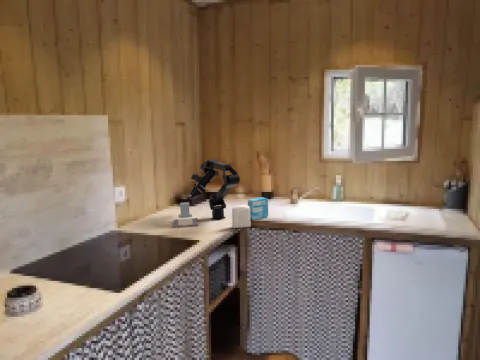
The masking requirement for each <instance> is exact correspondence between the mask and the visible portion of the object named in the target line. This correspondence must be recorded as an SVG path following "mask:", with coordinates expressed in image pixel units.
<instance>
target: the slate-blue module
mask: <svg viewBox="0 0 480 360" xmlns="http://www.w3.org/2000/svg"><path fill="white" fill-rule="evenodd" d="M179 204H180V205H179V208H180V214H181V218H187V217H190V213H191V212H190V202H189V201H187V202H186V201H185V202H180V203H179Z"/></svg>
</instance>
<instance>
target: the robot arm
mask: <svg viewBox="0 0 480 360" xmlns="http://www.w3.org/2000/svg"><path fill="white" fill-rule="evenodd" d="M199 169H200V170H201V172H202V173H203V174H202V175H199V174H197V173H193V172H192V173H191V176H190V179H191V180H194V182H193V185H194V186H193V188H192V189H191V191H190V193H189V195H190V198H191V199H193V198H195V197H197V196H200V195H203V194H204V193H205V192H206V188H207V186H208V185H209V184H210V183H211V182H212V181H213V180H214V179H215V177H219V171H222V174H221V175H222V176H221V177H222V180H223V184H222V186H221V187H220V188H219V190H218V191H217V192H215V193H214V192H213V193H212V194H211V195H210V196H209V200H208V204H209V209H210V211H211V216H212V217H211V218H210V219H211V220H217V221H221V220H223V219H225V218H226V216H225V209H227V204H226V202H225V200H224V199H225V197H226V196H227V195H228V193H230V191H231V189H232V188H234V187H236V186H237V185H238V184H240V181H241V177H240V175H239V173H238V171H237V170H236V169H235V168H234V167H233V166H232V164H231V163H226V162H220V160H219V159H217V158H213V159H207V160H205V161H203V163H202V164H201V165H200V168H199ZM218 170H219V171H218ZM226 172H229V173H230V174H226Z"/></svg>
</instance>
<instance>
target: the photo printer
mask: <svg viewBox="0 0 480 360" xmlns="http://www.w3.org/2000/svg"><path fill="white" fill-rule="evenodd" d="M231 219H232V220H231V221H232V224H231V225H232V228H233V229H236V228H251V219H250V207H249V206H248V205H245V204H244V205H243V204H241V205H240V204H239V205H235V206H232V209H231Z"/></svg>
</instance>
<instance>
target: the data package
mask: <svg viewBox="0 0 480 360" xmlns="http://www.w3.org/2000/svg"><path fill="white" fill-rule="evenodd" d="M247 206H249V207H250V220H252V221H256V220H257V221H258V220H260V219H267V218H268V217H269V199H268V197H263V196H262V197H257V198H251V199H248V201H247Z"/></svg>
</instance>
